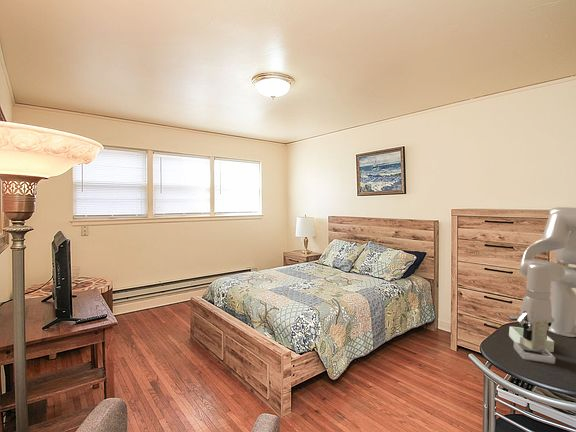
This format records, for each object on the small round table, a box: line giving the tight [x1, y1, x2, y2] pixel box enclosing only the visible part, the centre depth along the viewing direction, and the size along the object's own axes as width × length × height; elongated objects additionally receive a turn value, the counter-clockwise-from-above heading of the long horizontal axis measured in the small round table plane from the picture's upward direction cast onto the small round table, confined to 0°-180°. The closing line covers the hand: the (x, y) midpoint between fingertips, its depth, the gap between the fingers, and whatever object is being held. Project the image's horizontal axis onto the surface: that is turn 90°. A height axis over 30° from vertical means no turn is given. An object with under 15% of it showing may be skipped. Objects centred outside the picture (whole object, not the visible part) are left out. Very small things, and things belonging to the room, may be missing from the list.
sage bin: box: [508, 326, 555, 353], centre depth 138 cm, size 12×12×4 cm
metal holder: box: [513, 341, 556, 365], centre depth 127 cm, size 10×10×2 cm
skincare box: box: [523, 319, 548, 350], centre depth 127 cm, size 6×4×12 cm
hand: (534, 338), depth 127 cm, fingers closed on skincare box, 6 cm apart
